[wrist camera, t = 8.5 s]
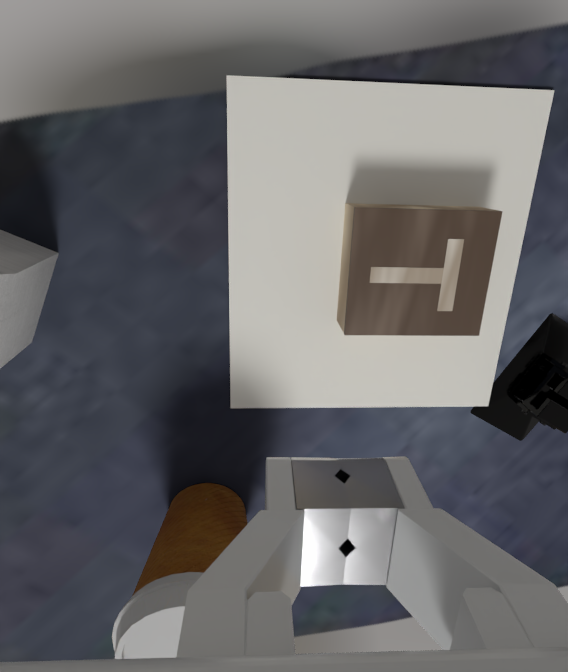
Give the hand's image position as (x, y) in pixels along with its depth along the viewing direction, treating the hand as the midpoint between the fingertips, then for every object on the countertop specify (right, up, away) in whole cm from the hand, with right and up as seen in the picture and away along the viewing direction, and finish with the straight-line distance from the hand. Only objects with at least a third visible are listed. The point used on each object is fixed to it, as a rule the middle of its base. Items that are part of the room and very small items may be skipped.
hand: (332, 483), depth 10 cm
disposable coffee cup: (-7, -11, +29) cm, 32 cm away
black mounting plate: (+18, 0, +27) cm, 33 cm away
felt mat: (+5, +8, +22) cm, 24 cm away
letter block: (+3, +7, +20) cm, 22 cm away
